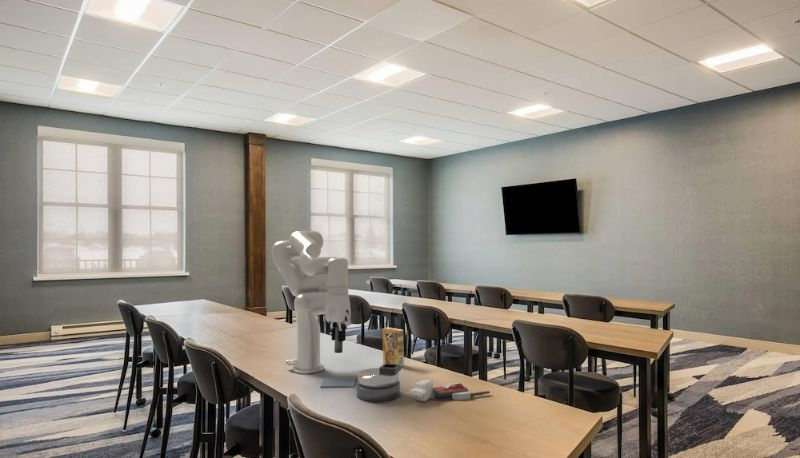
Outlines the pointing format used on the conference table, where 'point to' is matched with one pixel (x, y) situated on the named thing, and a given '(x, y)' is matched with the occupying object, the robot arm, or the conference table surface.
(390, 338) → the candy box
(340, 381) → the key mat
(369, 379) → the collar
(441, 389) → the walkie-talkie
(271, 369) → the conference table surface
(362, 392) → the base
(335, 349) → the chuck key
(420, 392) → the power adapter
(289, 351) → the conference table surface
